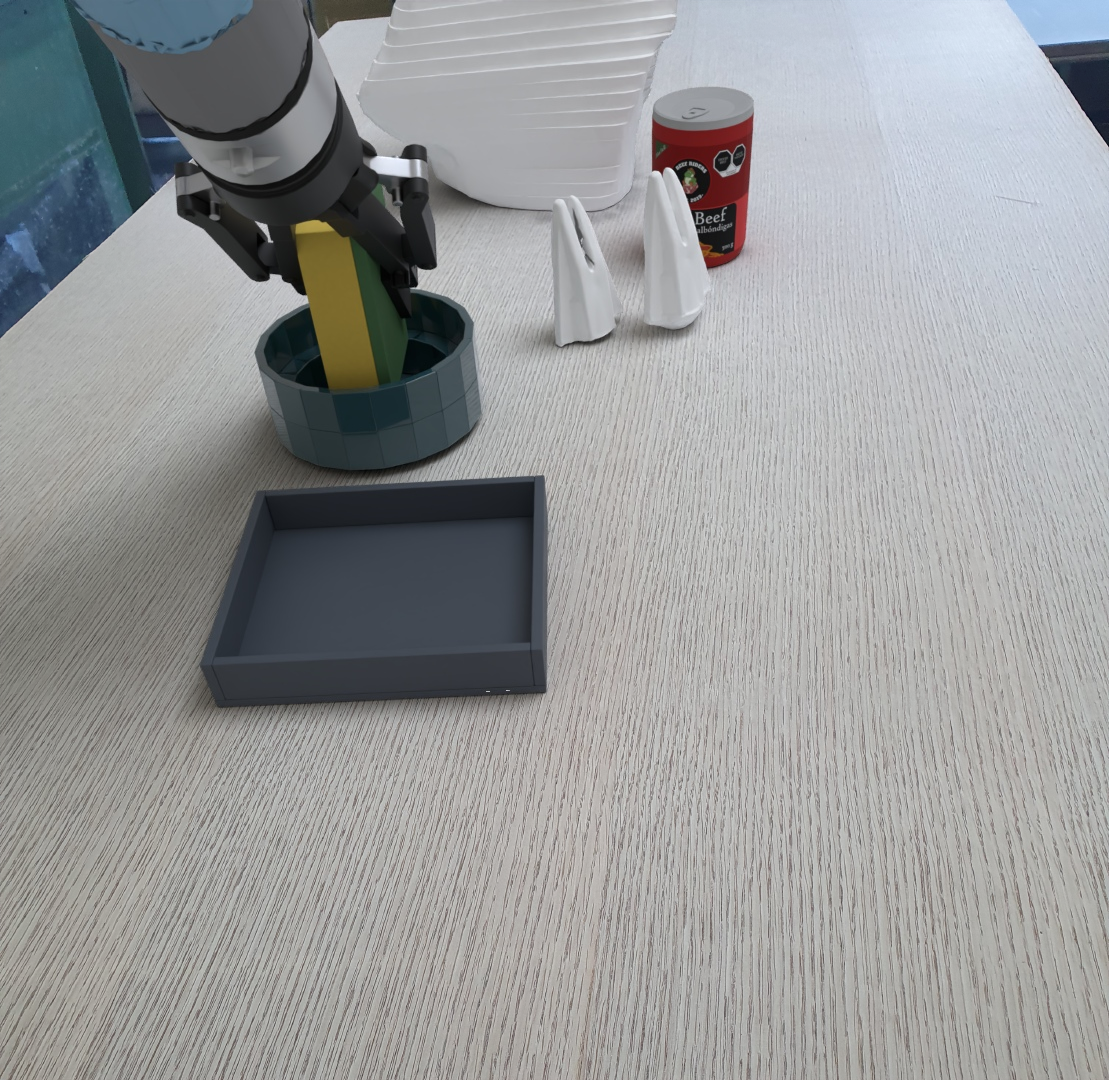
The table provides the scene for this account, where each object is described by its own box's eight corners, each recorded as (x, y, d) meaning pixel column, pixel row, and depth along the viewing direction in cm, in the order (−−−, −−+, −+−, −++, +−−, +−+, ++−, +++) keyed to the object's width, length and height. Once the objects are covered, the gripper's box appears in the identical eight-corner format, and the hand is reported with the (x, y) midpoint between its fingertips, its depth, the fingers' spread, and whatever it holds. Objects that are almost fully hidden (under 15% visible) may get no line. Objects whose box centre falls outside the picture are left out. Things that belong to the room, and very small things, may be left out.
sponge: (333, 409, 69) (291, 233, 61) (351, 341, 75) (315, 174, 67) (395, 405, 69) (361, 228, 61) (408, 338, 75) (379, 169, 67)
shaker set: (709, 308, 83) (715, 152, 75) (717, 334, 80) (725, 175, 72) (553, 321, 83) (542, 167, 75) (556, 348, 80) (545, 191, 72)
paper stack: (672, 215, 95) (679, -162, 76) (373, 223, 98) (308, -138, 79) (677, 130, 109) (683, -205, 90) (415, 139, 112) (369, -184, 93)
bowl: (261, 483, 70) (235, 399, 66) (296, 373, 80) (276, 294, 75) (478, 471, 69) (467, 386, 65) (487, 362, 79) (478, 281, 75)
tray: (216, 707, 56) (199, 665, 54) (269, 531, 66) (256, 490, 64) (546, 692, 55) (542, 649, 53) (547, 516, 66) (544, 474, 63)
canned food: (640, 266, 88) (640, 118, 80) (665, 226, 93) (667, 83, 85) (733, 274, 86) (742, 123, 78) (753, 232, 91) (764, 87, 83)
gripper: (80, 205, 49) (248, 364, 73) (449, 179, 49) (499, 348, 72) (69, 38, 49) (242, 251, 73) (440, 9, 48) (494, 234, 72)
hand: (370, 299), depth 72 cm, fingers closed on sponge, 4 cm apart
